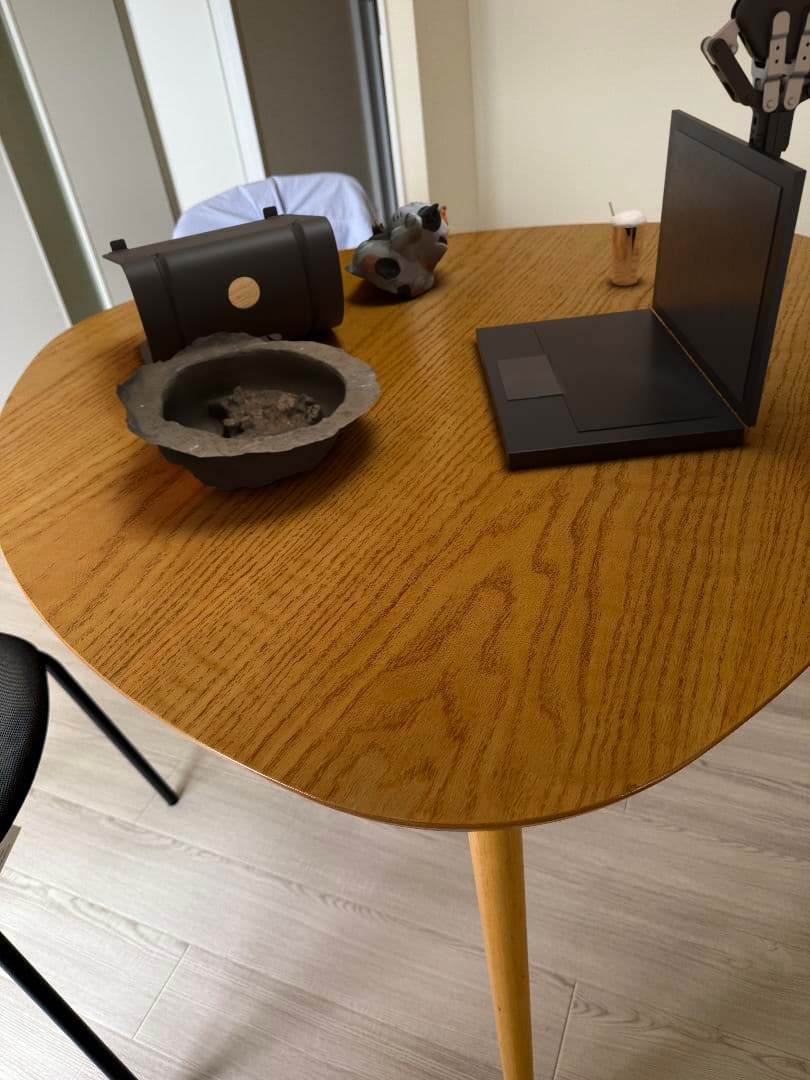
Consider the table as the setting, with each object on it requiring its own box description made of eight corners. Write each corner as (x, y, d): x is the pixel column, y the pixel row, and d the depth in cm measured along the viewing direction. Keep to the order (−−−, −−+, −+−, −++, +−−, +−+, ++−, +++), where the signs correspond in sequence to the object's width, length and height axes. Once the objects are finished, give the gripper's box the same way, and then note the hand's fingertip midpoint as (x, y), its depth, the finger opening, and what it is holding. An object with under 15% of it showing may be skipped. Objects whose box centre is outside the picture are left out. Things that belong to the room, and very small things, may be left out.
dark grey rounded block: (158, 405, 91) (114, 271, 81) (130, 341, 108) (91, 225, 99) (361, 349, 97) (342, 220, 88) (303, 297, 115) (282, 185, 106)
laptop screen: (795, 171, 57) (807, 170, 57) (670, 109, 81) (679, 109, 81) (745, 427, 69) (755, 426, 69) (650, 308, 93) (658, 307, 93)
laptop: (509, 470, 71) (508, 452, 70) (476, 342, 95) (475, 327, 94) (742, 445, 70) (745, 426, 69) (649, 322, 94) (650, 307, 93)
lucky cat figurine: (370, 270, 122) (403, 179, 115) (437, 304, 120) (474, 214, 114) (329, 274, 108) (365, 172, 102) (404, 312, 107) (445, 210, 100)
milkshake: (615, 273, 109) (619, 197, 103) (649, 279, 106) (655, 201, 100) (596, 283, 107) (598, 206, 101) (629, 290, 104) (634, 211, 98)
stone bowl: (112, 441, 84) (88, 358, 79) (324, 388, 93) (315, 310, 88) (174, 550, 65) (148, 451, 60) (430, 469, 75) (427, 378, 70)
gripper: (873, -112, 59) (824, 142, 69) (696, -89, 59) (673, 160, 69) (930, -121, 53) (867, 158, 63) (732, -95, 53) (702, 178, 63)
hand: (765, 159), depth 66 cm, fingers closed
